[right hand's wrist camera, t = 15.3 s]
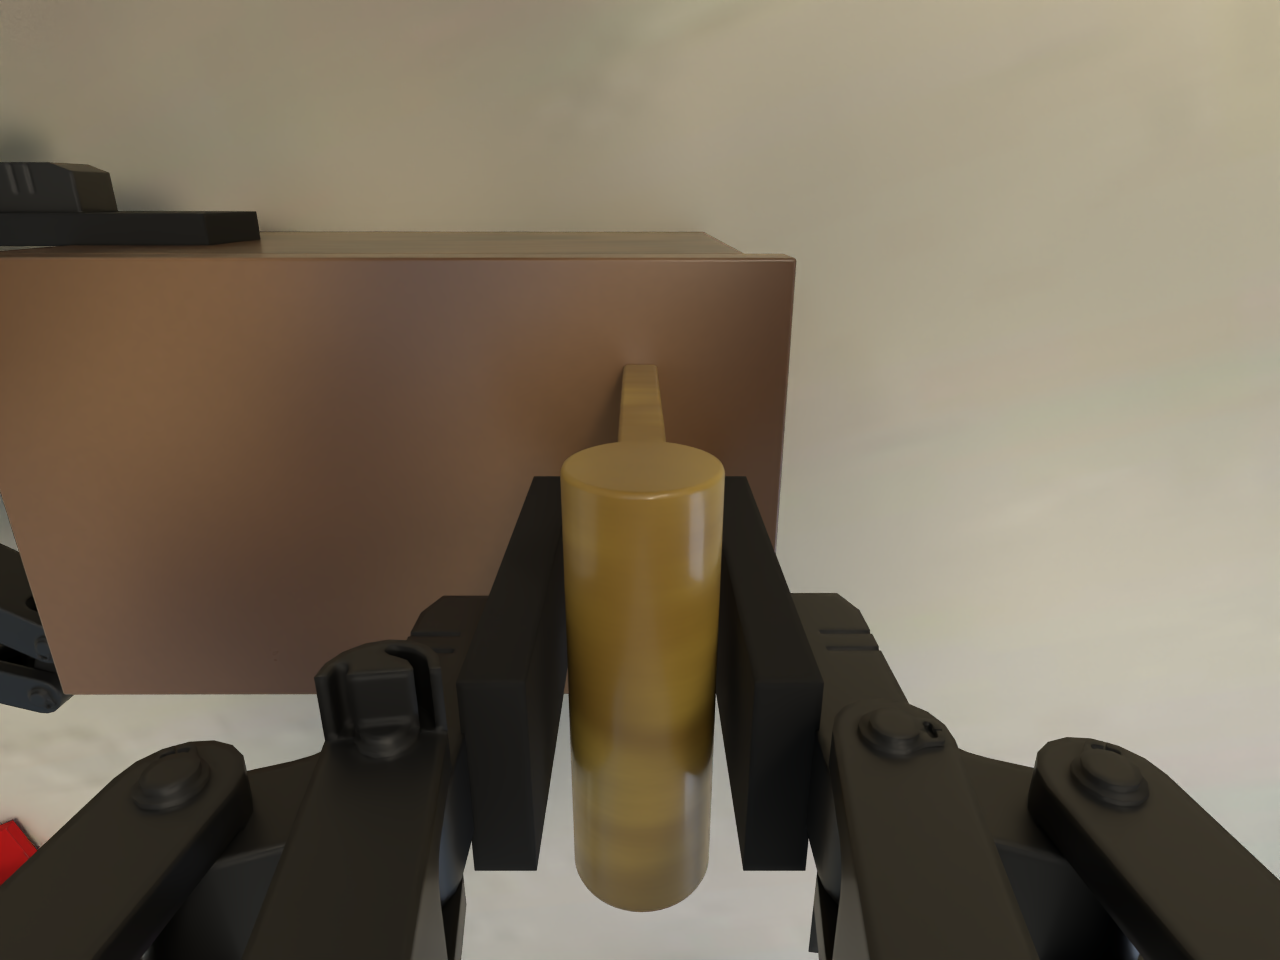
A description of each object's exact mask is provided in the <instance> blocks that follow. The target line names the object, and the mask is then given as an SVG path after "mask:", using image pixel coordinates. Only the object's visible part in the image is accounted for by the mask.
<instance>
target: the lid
mask: <svg viewBox="0 0 1280 960" xmlns="http://www.w3.org/2000/svg"><path fill="white" fill-rule="evenodd" d="M795 272H796V259H795V258H793V257H790V256H788V255H785V254H163V253H0V493H1V496H2V499H3V502H4V505H5V509H6V512H7V515H8V518H9V521H10V525H11V528H12V531H13V534H14V537H15V540H16V544H17V547H18V550H19V553H20V556H21V559H22V563H23V566H24V569H25V572H26V575H27V579H28V582H29V585H30V588H31V591H32V594H33V598H34V601H35V604H36V607H37V610H38V613H39V617H40V620H41V623H42V626H43V629H44V633H45V636H46V639H47V642H48V645H49V648H50V652H51V655H52V658H53V661H54V664H55V668H56V671H57V674H58V677H59V680H60V683H61V687H62V690H63V693H64V694H66V695H78V694H317V692H316V686H315V681H314V677H315V675H316V674H317V673H318V672H319V670H320V669H321V668H322V667H323V665H324V664H325V663H326V662H328V661H330V660H331V659H333V658H334V657H336V656H337V655H339V654H340V653H342V652H344V651H346V650H349V649H352V648H354V647H357V646H360V645H362V644H365V643H371V642H377V641H383V640H389V639H390V640H407V638H408V636H410V632H411V630H412V629H413V627H414V625H415V623H416V621H417V619H418V617H419V615H420V613H421V612H422V611H424V610H425V609H426V608H428V607H429V606H430V605H431V604H433V603H434V602H435V601H437V600H438V599H439V598H441V597H442V596H489V594H490V591H491V588H492V586H493V583H494V580H495V578H496V575H497V573H498V570H499V567H500V565H501V562H502V559H503V557H504V554H505V551H506V549H507V546H508V543H509V541H510V538H511V535H512V533H513V530H514V528H515V525H516V522H517V520H518V517H519V514H520V512H521V509H522V506H523V504H524V501H525V498H526V496H527V493H528V491H529V488H530V485H531V483H532V480H533V477H534V476H560V482H561V508H562V534H563V560H564V586H565V613H566V639H567V665H568V669H567V675H566V682H565V688H564V694H569V717H570V744H571V770H572V796H573V822H574V848H575V863H576V868H577V871H578V874H579V876H580V878H581V880H582V881H583V883H584V884H585V885H586V887H587V888H588V889H589V890H590V891H591V893H592V894H593V895H595V896H596V897H597V898H599V899H600V900H601V901H603V902H605V903H607V904H609V905H611V906H613V907H616V908H619V909H622V910H627V911H633V912H651V911H657V910H662V909H665V908H668V907H671V906H673V905H675V904H677V903H679V902H681V901H682V900H684V899H685V898H687V897H688V896H689V895H690V894H691V893H692V892H693V891H694V890H695V889H696V888H697V886H698V885H699V884H700V882H701V881H702V879H703V877H704V875H705V873H706V870H707V867H708V860H709V839H710V815H711V792H712V768H713V745H714V721H715V697H716V674H717V650H718V627H719V603H720V580H721V556H722V532H723V509H724V485H725V476H746V477H747V480H748V483H749V485H750V488H751V491H752V493H753V496H754V498H755V501H756V504H757V506H758V509H759V512H760V514H761V517H762V520H763V522H764V525H765V528H766V530H767V533H768V535H769V538H770V541H771V543H772V546H773V549H774V551H775V554H776V544H777V529H778V515H779V501H780V487H781V472H782V458H783V444H784V429H785V415H786V401H787V387H788V372H789V358H790V344H791V329H792V315H793V301H794V287H795Z"/></svg>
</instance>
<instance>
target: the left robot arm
mask: <svg viewBox="0 0 1280 960" xmlns="http://www.w3.org/2000/svg"><path fill="white" fill-rule="evenodd" d="M252 240H261V238H260V232H259V226H258V220H257V214H256V211H118V210H117V205H116V201H115V196H114V192H113V187H112V183H111V179H110V174H109V173H108V172H105V171H103V170H100V169H98V168H95V167H93V166H90V165H85V164H67V163H50V162H27V163H25V162H11V163H9V162H0V246H67V245H217V244H225V243H234V242H243V241H252ZM72 696H73V695H66V694H64V693H63V690H62V687H61V683H60V680H59V677H58V674H57V671H56V668H55V664H54V661H53V658H52V655H51V652H50V648H49V645H48V642H47V639H46V636H45V633H44V629H43V626H42V623H41V620H40V617H39V613H38V610H37V607H36V604H35V601H34V598H33V594H32V591H31V588H30V585H29V582H28V579H27V575H26V572H25V569H24V566H23V563H22V559H21V556H20V553H19V552H18V551H16V550H14V549H11V548H9V547H7V546H5V545H3V544H0V703H1V704H5V705H10V706H14V707H18V708H23V709H27V710H31V711H35V712H40V713H51V712H54V711H56V710H57V709H58V708H59V707H60V706H61V705H63V704H64V703H65V702H66V701H67V700H69V699H70V698H71V697H72Z"/></svg>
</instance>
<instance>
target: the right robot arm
mask: <svg viewBox="0 0 1280 960" xmlns="http://www.w3.org/2000/svg"><path fill="white" fill-rule="evenodd" d="M567 669H568V665H567V639H566V613H565V586H564V560H563V534H562V508H561V482H560V476H534V477H533V480H532V483H531V485H530V488H529V491H528V493H527V496H526V498H525V501H524V504H523V506H522V509H521V512H520V514H519V517H518V520H517V522H516V525H515V528H514V530H513V533H512V535H511V538H510V541H509V543H508V546H507V549H506V551H505V554H504V557H503V559H502V562H501V565H500V567H499V570H498V573H497V575H496V578H495V580H494V583H493V586H492V588H491V591H490V594H489V596H442V597H441V598H439V599H438V600H437V601H435V602H434V603H433V604H431V605H430V606H429V607H428V608H426V609H425V610H424V611H422V612H421V613H420V615H419V617H418V619H417V621H416V623H415V625H414V627H413V629H412V630H411V632H410V636H408V638H407V640H390V639H389V640H383V641H377V642H371V643H365V644H362V645H360V646H357V647H354V648H352V649H349V650H346V651H344V652H342V653H340V654H339V655H337V656H336V657H334V658H333V659H331V660H330V661H328V662H326V663H325V664H324V665H323V667H322V668H321V669H320V670H319V672H318V673H317V674H316V675H315V677H314V681H315V686H316V692H317V698H318V703H319V709H320V715H321V720H322V726H323V731H324V737H325V742H324V745H323V748H322V750H321V752H319V753H317V754H315V755H312V756H309V757H305V758H302V759H298V760H295V761H291V762H286V763H282V764H277V765H273V766H268V767H263V768H259V769H254V770H250V771H247V770H246V766H245V761H244V757H243V755H242V754H241V753H240V752H239V751H238V750H237V749H236V748H235V747H234V746H233V745H230V744H226V743H222V742H218V741H214V740H213V741H195V742H187V743H183V744H179V745H176V746H172V747H169V748H165V749H162V750H160V751H158V752H156V753H153V754H151V755H149V756H147V757H145V758H143V759H141V760H139V761H137V762H135V763H134V764H132V765H131V766H130V767H128V768H127V769H126V770H124V771H123V772H122V773H120V774H119V775H118V776H116V777H115V778H114V779H113V780H112V781H111V782H109V783H108V784H107V785H106V786H105V787H104V788H103V789H102V790H101V791H100V792H99V793H98V794H97V795H96V796H95V797H94V798H93V799H91V800H90V801H89V802H88V803H87V804H86V805H85V806H84V807H83V808H82V809H81V810H80V811H79V812H78V813H77V814H76V815H75V816H73V817H72V818H71V819H70V820H69V821H68V822H67V823H66V824H65V825H64V826H63V827H62V828H61V829H60V830H59V831H58V832H57V833H56V834H54V835H53V836H52V837H51V838H50V839H49V840H48V841H47V842H46V843H45V844H44V845H43V846H42V847H41V848H40V849H39V850H38V851H36V852H35V853H34V854H33V855H32V856H31V857H30V858H29V859H28V860H27V861H26V862H25V863H24V864H23V865H22V866H21V867H20V868H18V869H17V870H16V871H15V872H14V873H13V874H12V875H11V876H10V877H9V878H8V879H7V880H6V881H5V882H4V883H3V884H2V885H0V960H461V955H462V945H463V934H464V924H465V913H466V897H465V888H464V878H463V872H464V868H465V864H466V860H467V856H468V852H469V849H470V845H471V841H472V849H473V859H474V869H475V871H537V865H538V858H539V852H540V845H541V839H542V832H543V825H544V819H545V812H546V806H547V799H548V793H549V786H550V780H551V773H552V767H553V760H554V754H555V747H556V741H557V734H558V728H559V721H560V715H561V708H562V702H563V695H564V688H565V682H566V675H567ZM716 695H717V701H718V708H719V714H720V721H721V728H722V734H723V741H724V747H725V754H726V760H727V767H728V773H729V780H730V786H731V793H732V799H733V806H734V812H735V819H736V825H737V832H738V838H739V845H740V851H741V858H742V865H743V871H805V869H806V859H807V849H808V839H809V841H810V845H811V849H812V852H813V856H814V860H815V864H816V868H817V878H816V888H815V897H814V906H813V915H812V925H811V934H810V943H809V952H815V953H818V954H819V960H1280V880H1279V879H1278V878H1277V877H1275V876H1274V875H1273V874H1272V873H1271V872H1270V871H1269V870H1268V869H1267V868H1266V867H1265V866H1264V865H1263V864H1262V863H1261V862H1259V861H1258V860H1257V859H1256V858H1255V857H1254V856H1253V855H1252V854H1251V853H1250V852H1249V851H1248V850H1247V849H1246V848H1245V847H1243V846H1242V845H1241V844H1240V843H1239V842H1238V841H1237V840H1236V839H1235V838H1234V837H1233V836H1232V835H1231V834H1230V833H1229V832H1227V831H1226V830H1225V829H1224V828H1223V827H1222V826H1221V825H1220V824H1219V823H1218V822H1217V821H1216V820H1215V819H1214V818H1213V817H1211V816H1210V815H1209V814H1208V813H1207V812H1206V811H1205V810H1204V809H1203V808H1202V807H1201V806H1200V805H1199V804H1198V803H1197V802H1196V801H1194V800H1193V799H1192V798H1191V797H1190V796H1189V795H1188V794H1187V793H1186V792H1185V791H1184V790H1183V789H1182V788H1181V787H1180V786H1178V785H1177V784H1176V783H1175V782H1174V781H1173V780H1172V779H1171V778H1170V777H1169V776H1168V775H1167V774H1165V773H1164V772H1163V771H1161V770H1160V769H1158V768H1157V767H1156V766H1154V765H1153V764H1152V763H1150V762H1149V761H1148V760H1146V759H1145V758H1143V757H1141V756H1139V755H1137V754H1134V753H1132V752H1130V751H1128V750H1126V749H1124V748H1122V747H1120V746H1117V745H1113V744H1110V743H1107V742H1103V741H1098V740H1095V739H1090V738H1072V737H1066V738H1062V739H1058V740H1054V741H1050V742H1048V743H1047V744H1046V745H1045V746H1043V747H1042V748H1041V749H1040V750H1039V751H1038V753H1037V757H1036V761H1035V766H1034V768H1031V767H1027V766H1022V765H1017V764H1013V763H1008V762H1004V761H999V760H995V759H990V758H986V757H982V756H979V755H975V754H972V753H969V752H966V751H964V750H961V749H959V748H958V746H957V744H956V741H955V739H954V738H953V736H952V735H951V733H950V732H949V730H948V729H947V727H946V726H945V725H944V724H943V723H942V722H940V721H939V720H938V719H936V718H935V717H934V716H932V715H931V714H930V713H928V712H927V711H924V710H922V709H920V708H917V707H915V706H913V705H910V704H909V703H908V701H907V699H906V697H905V695H904V693H903V692H902V690H901V688H900V686H899V684H898V682H897V680H896V678H895V676H894V675H893V673H892V671H891V669H890V667H889V665H888V663H887V661H886V659H885V658H884V656H883V654H882V652H881V651H879V646H878V644H877V642H876V641H875V639H874V637H873V635H872V634H870V629H869V627H868V625H867V624H866V622H865V620H864V618H863V616H862V614H861V612H860V610H859V609H857V608H856V607H855V606H853V605H852V604H851V603H849V602H848V601H847V600H845V599H844V598H843V597H841V596H840V595H839V594H838V593H790V591H789V588H788V586H787V583H786V580H785V578H784V575H783V572H782V570H781V567H780V565H779V562H778V559H777V557H776V554H775V551H774V549H773V546H772V543H771V541H770V538H769V535H768V533H767V530H766V528H765V525H764V522H763V520H762V517H761V514H760V512H759V509H758V506H757V504H756V501H755V498H754V496H753V493H752V491H751V488H750V485H749V483H748V480H747V477H746V476H725V485H724V509H723V532H722V556H721V580H720V603H719V627H718V650H717V674H716Z"/></svg>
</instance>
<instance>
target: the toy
mask: <svg viewBox="0 0 1280 960" xmlns="http://www.w3.org/2000/svg"><path fill="white" fill-rule="evenodd" d="M36 851H37V850H36V848H35V847H34V846H33V845H32V843H31V842H30V841H29V840H28V838H27V837H26V836H25V835H24V833H23V832H22V831H21V830H20V828H19V827H18V826H17V825H16V823H15V822H14V821H13V820H12V821H10V822H7V823H5V824H2V825H0V885H2V884H3V883H4V882H5V881H6V880H7V879H8V878H9V877H10V876H11V875H12V874H13V873H14V872H15V871H16V870H17V869H18V868H20V867H21V866H22V865H23V864H24V863H25V862H26V861H27V860H28V859H29V858H30V857H31V856H32V855H33V854H34V853H35V852H36Z"/></svg>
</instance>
